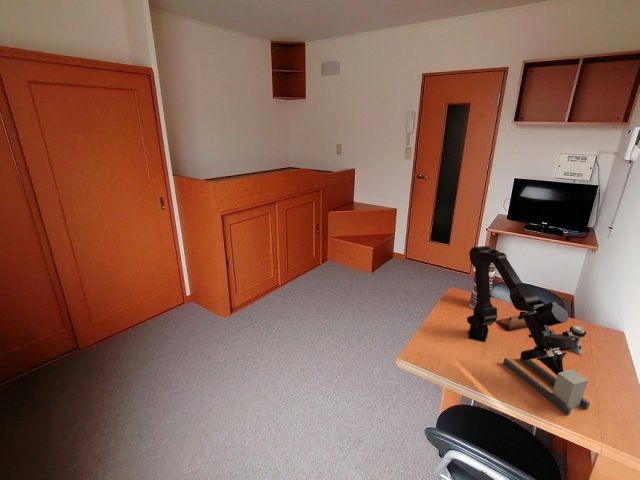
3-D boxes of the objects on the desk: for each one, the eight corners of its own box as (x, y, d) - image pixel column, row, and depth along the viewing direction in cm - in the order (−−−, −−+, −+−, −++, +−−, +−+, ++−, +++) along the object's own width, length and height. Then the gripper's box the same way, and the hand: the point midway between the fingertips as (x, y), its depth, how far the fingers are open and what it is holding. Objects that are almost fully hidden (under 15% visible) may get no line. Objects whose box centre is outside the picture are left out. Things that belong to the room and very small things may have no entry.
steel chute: (501, 366, 120) (503, 358, 119) (521, 361, 123) (524, 353, 121) (564, 418, 98) (568, 410, 97) (588, 411, 101) (591, 402, 100)
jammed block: (550, 397, 104) (558, 372, 101) (563, 393, 106) (572, 369, 103) (565, 410, 100) (574, 384, 96) (579, 405, 101) (588, 380, 98)
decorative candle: (469, 300, 167) (478, 255, 159) (489, 305, 163) (499, 259, 155) (467, 307, 160) (476, 261, 152) (487, 313, 155) (498, 265, 147)
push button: (586, 354, 128) (594, 332, 124) (577, 356, 126) (584, 335, 123) (569, 344, 134) (576, 323, 130) (560, 346, 132) (567, 325, 129)
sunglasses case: (523, 315, 153) (532, 309, 148) (533, 329, 149) (542, 323, 144) (493, 321, 148) (501, 314, 144) (502, 335, 144) (511, 329, 139)
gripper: (537, 328, 100) (562, 382, 93) (580, 319, 105) (607, 369, 99) (510, 335, 109) (532, 384, 103) (551, 326, 115) (574, 373, 108)
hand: (561, 377), depth 103 cm, fingers closed, pressing on jammed block
